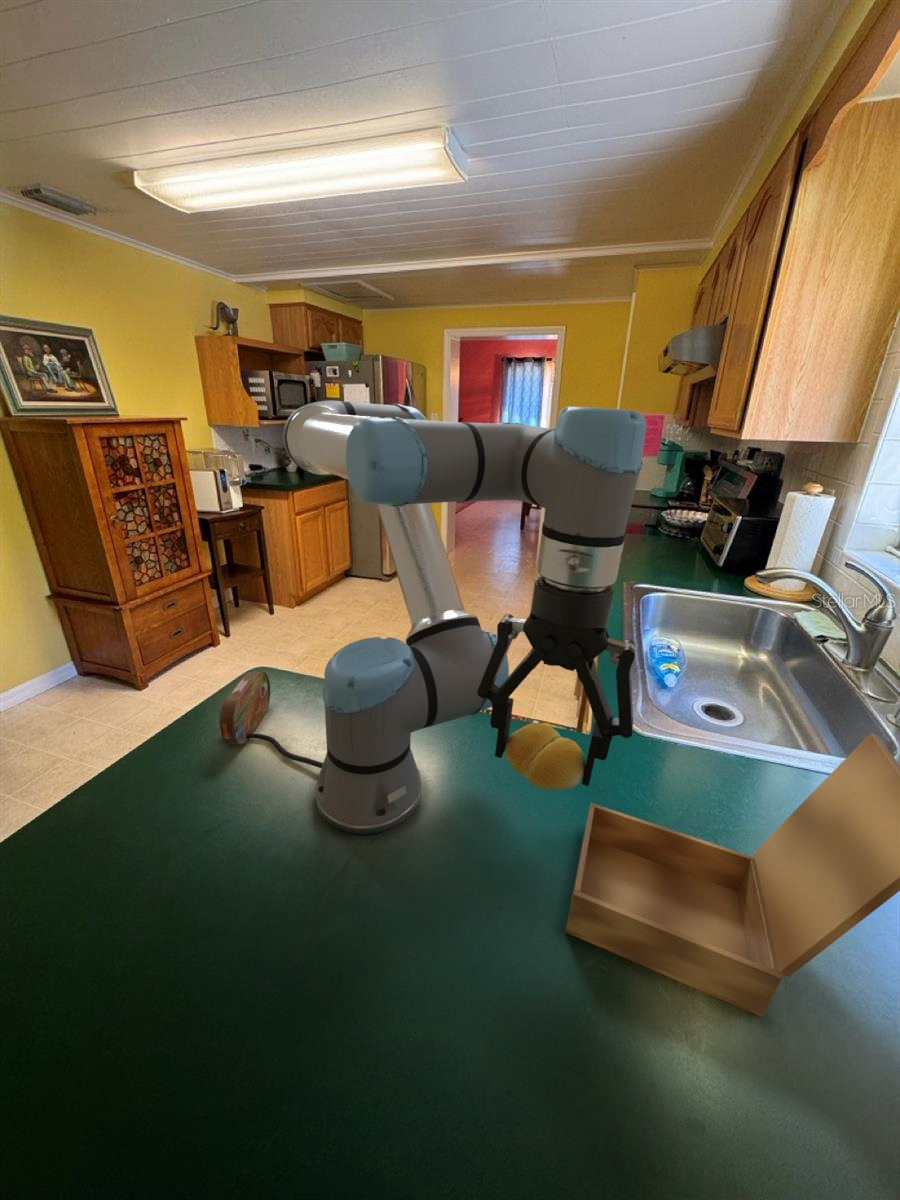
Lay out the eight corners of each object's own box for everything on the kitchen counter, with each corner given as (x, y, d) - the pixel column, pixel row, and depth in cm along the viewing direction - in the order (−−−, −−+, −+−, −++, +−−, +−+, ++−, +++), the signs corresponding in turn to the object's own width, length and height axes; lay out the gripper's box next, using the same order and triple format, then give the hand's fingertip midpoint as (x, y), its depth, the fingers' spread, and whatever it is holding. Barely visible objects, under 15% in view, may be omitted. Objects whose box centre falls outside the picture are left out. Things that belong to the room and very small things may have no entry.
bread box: (565, 932, 52) (573, 894, 50) (583, 836, 65) (590, 802, 62) (762, 1017, 46) (782, 978, 44) (740, 892, 58) (755, 857, 56)
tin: (239, 755, 75) (233, 711, 72) (219, 754, 75) (212, 710, 72) (273, 701, 89) (269, 663, 86) (256, 700, 89) (252, 662, 86)
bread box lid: (945, 840, 35) (1026, 881, 34) (870, 732, 47) (928, 758, 46) (779, 972, 44) (838, 1008, 42) (753, 852, 56) (798, 877, 55)
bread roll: (554, 806, 48) (560, 776, 47) (492, 758, 55) (496, 730, 53) (599, 771, 54) (606, 743, 52) (537, 731, 60) (542, 704, 58)
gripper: (455, 570, 46) (442, 754, 54) (702, 617, 39) (642, 821, 47) (480, 551, 52) (465, 718, 61) (695, 589, 45) (644, 772, 54)
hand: (542, 763), depth 54 cm, fingers closed on bread roll, 9 cm apart
